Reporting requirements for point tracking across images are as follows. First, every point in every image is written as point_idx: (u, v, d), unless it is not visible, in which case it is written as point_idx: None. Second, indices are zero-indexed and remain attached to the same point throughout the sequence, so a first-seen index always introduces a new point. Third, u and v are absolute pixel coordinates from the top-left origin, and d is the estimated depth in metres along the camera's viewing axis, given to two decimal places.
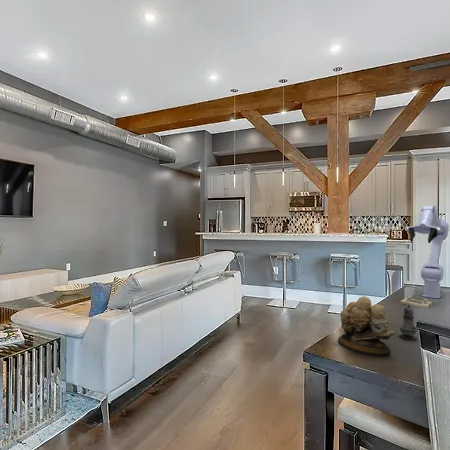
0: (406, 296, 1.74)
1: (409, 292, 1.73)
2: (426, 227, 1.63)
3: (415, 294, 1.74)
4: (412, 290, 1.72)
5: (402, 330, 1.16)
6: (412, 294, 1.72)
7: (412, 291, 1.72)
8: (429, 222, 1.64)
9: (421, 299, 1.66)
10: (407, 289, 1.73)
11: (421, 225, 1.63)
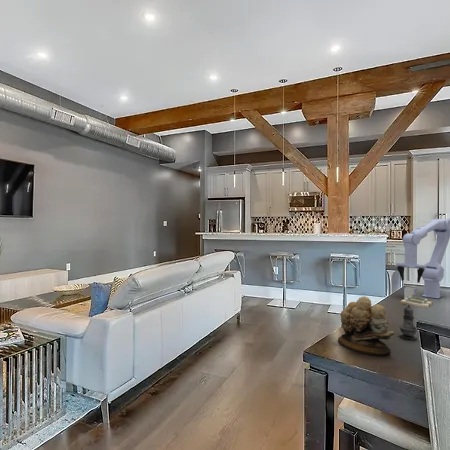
0: (406, 296, 1.74)
1: (409, 292, 1.73)
2: None
3: (415, 294, 1.74)
4: (412, 290, 1.72)
5: (402, 330, 1.16)
6: (412, 294, 1.72)
7: (412, 291, 1.72)
8: (414, 259, 1.71)
9: (421, 299, 1.66)
10: (407, 289, 1.73)
11: None
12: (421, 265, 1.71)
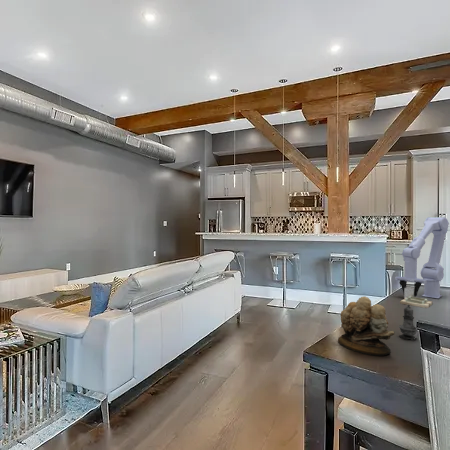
0: (406, 296, 1.74)
1: (409, 292, 1.73)
2: None
3: None
4: (412, 290, 1.72)
5: (402, 330, 1.16)
6: (412, 294, 1.72)
7: (412, 291, 1.72)
8: (414, 273, 1.72)
9: (421, 299, 1.66)
10: (407, 289, 1.73)
11: None
12: (421, 279, 1.71)
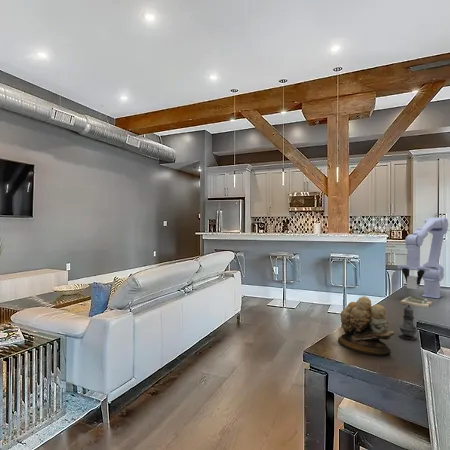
0: (409, 285, 1.69)
1: (412, 281, 1.68)
2: None
3: None
4: (415, 279, 1.67)
5: (402, 330, 1.16)
6: (415, 283, 1.67)
7: (415, 280, 1.67)
8: (417, 261, 1.67)
9: (421, 299, 1.66)
10: (410, 278, 1.69)
11: None
12: (424, 267, 1.66)
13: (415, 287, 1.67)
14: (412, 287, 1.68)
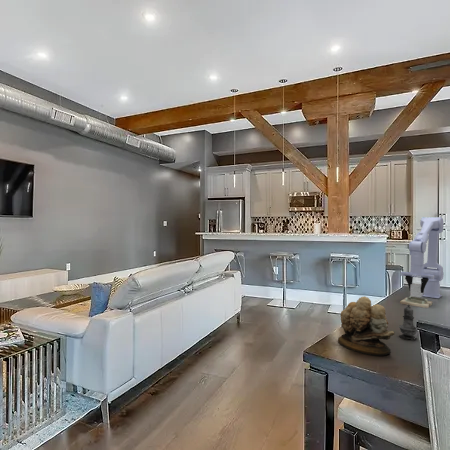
0: (412, 293, 1.64)
1: (415, 288, 1.63)
2: None
3: None
4: (419, 286, 1.62)
5: (402, 330, 1.16)
6: (419, 291, 1.62)
7: (419, 287, 1.62)
8: (421, 268, 1.61)
9: (421, 299, 1.66)
10: (413, 285, 1.63)
11: (414, 275, 1.63)
12: (428, 274, 1.61)
13: (419, 295, 1.62)
14: (416, 295, 1.63)
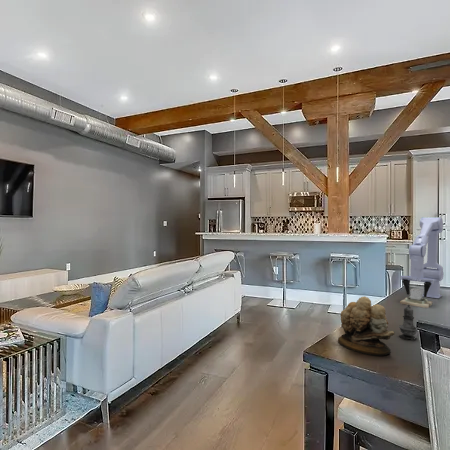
0: (412, 298, 1.64)
1: (415, 294, 1.63)
2: None
3: (422, 296, 1.64)
4: (419, 292, 1.62)
5: (402, 330, 1.16)
6: (419, 296, 1.62)
7: (419, 293, 1.62)
8: (421, 272, 1.62)
9: None
10: (413, 291, 1.63)
11: (414, 279, 1.63)
12: (428, 279, 1.61)
13: (419, 300, 1.62)
14: None
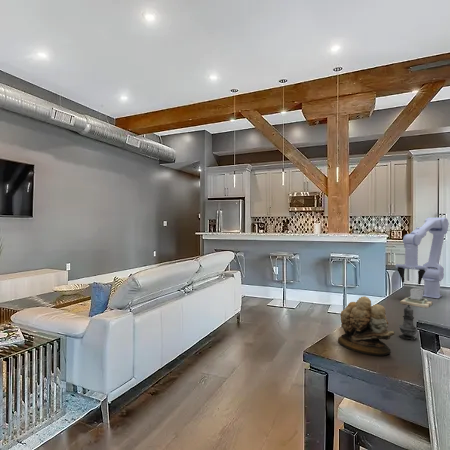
0: (412, 298, 1.64)
1: (415, 294, 1.63)
2: None
3: (422, 296, 1.64)
4: (419, 292, 1.62)
5: (402, 330, 1.16)
6: (419, 296, 1.62)
7: (419, 293, 1.62)
8: (415, 260, 1.68)
9: None
10: (413, 291, 1.63)
11: None
12: (422, 266, 1.67)
13: (419, 300, 1.62)
14: None
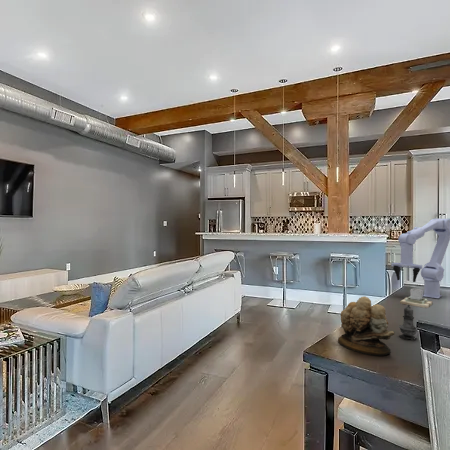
0: (412, 298, 1.64)
1: (415, 294, 1.63)
2: (409, 265, 1.73)
3: (422, 296, 1.64)
4: (419, 292, 1.62)
5: (402, 330, 1.16)
6: (419, 296, 1.62)
7: (419, 293, 1.62)
8: (410, 259, 1.73)
9: None
10: (413, 291, 1.63)
11: (404, 265, 1.74)
12: (417, 265, 1.72)
13: (419, 300, 1.62)
14: None
